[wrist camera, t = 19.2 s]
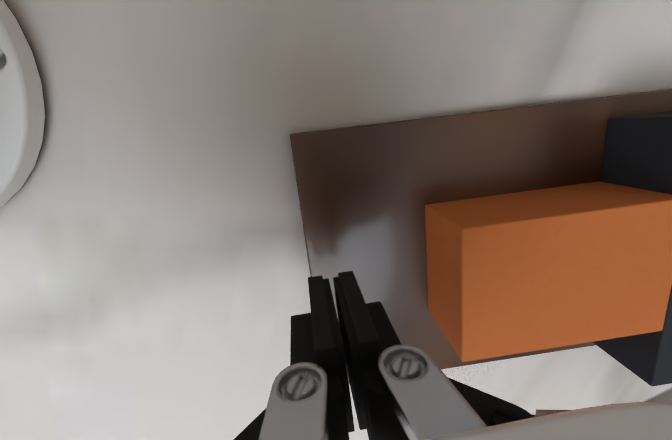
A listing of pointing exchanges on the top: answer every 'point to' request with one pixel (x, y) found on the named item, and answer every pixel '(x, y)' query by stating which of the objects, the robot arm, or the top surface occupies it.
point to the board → (437, 191)
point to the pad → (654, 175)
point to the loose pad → (548, 267)
